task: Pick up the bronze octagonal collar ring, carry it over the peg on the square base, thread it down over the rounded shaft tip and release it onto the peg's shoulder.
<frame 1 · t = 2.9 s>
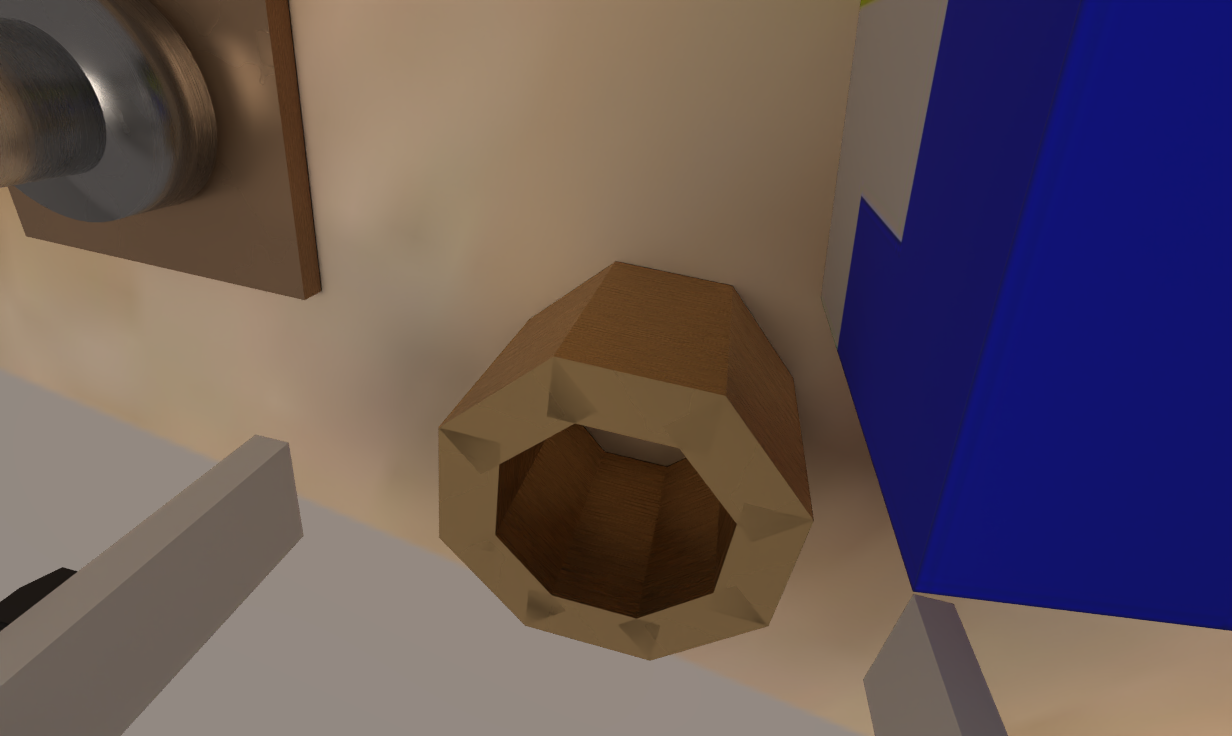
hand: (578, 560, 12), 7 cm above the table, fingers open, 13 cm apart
peg on square base: (143, 94, 17), on the table
puzzle toy: (1090, 84, 12), on the table
ring: (648, 394, 18), on the table
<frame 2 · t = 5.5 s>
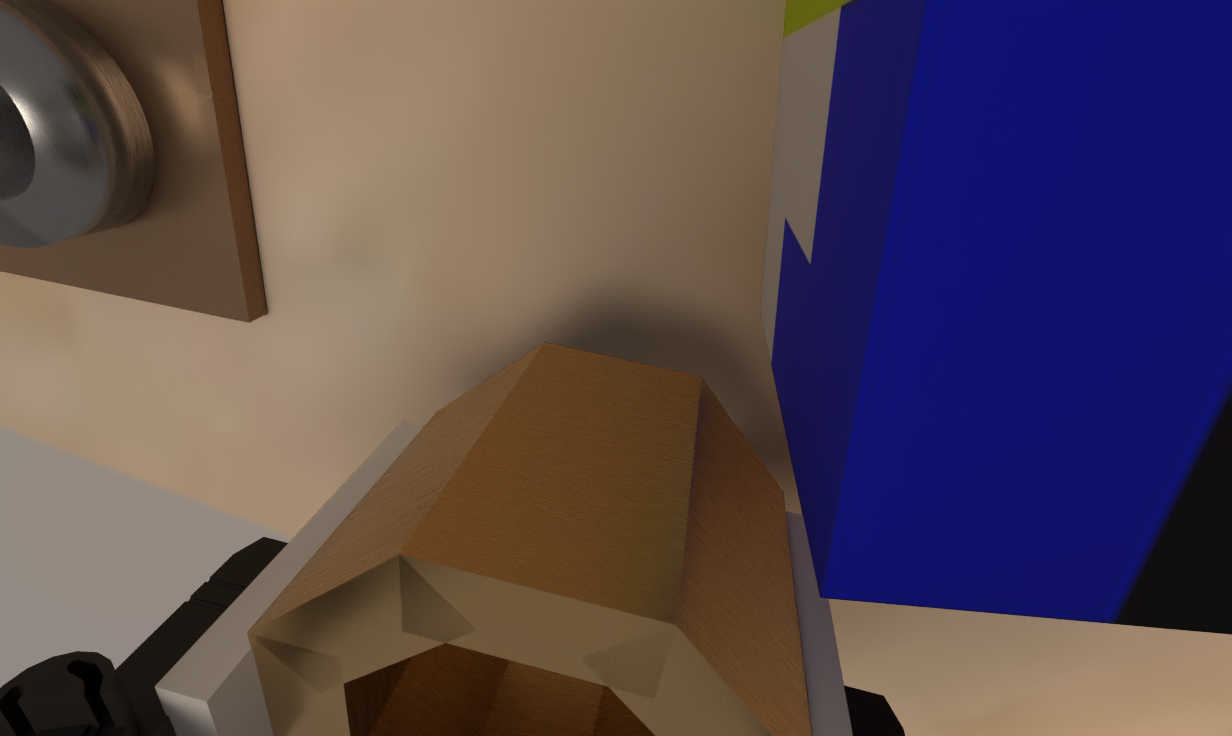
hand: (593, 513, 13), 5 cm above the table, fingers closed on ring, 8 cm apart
peg on square base: (77, 117, 16), on the table
puzzle toy: (997, 110, 13), on the table
ring: (596, 505, 14), point 5 cm above the table, touching gripper
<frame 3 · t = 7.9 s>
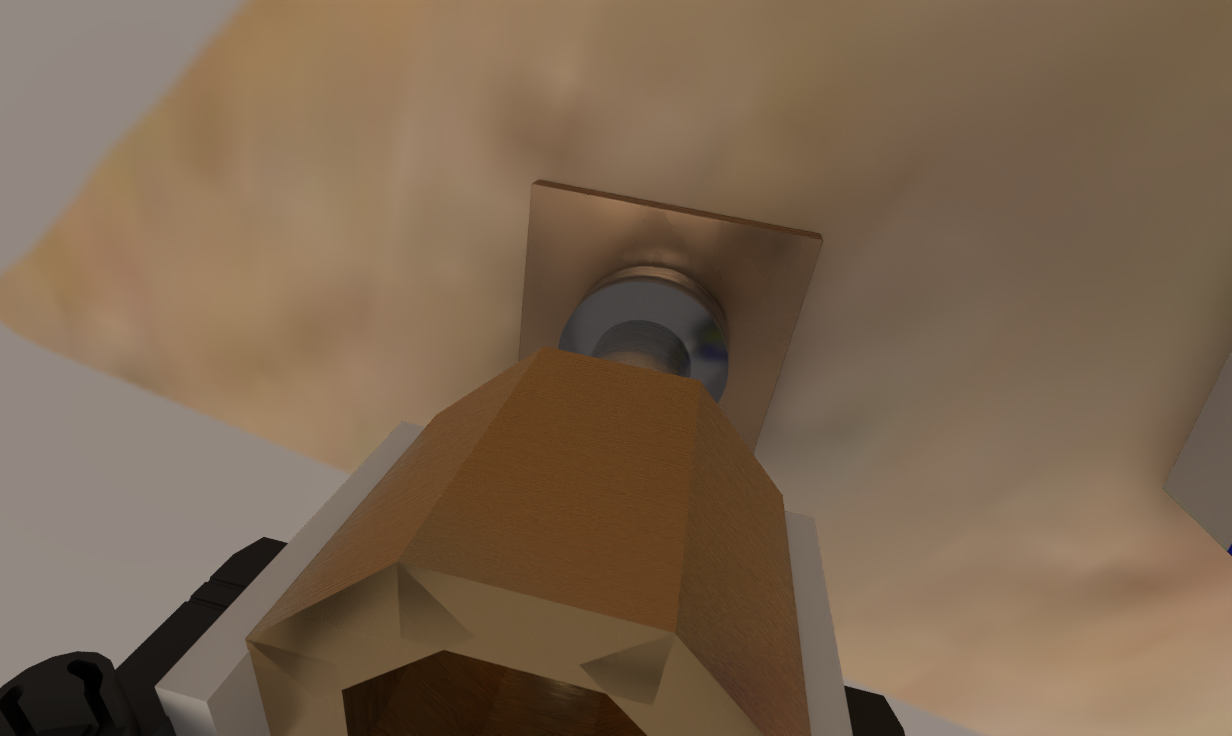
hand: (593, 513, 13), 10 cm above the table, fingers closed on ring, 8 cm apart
peg on square base: (651, 334, 23), on the table
ring: (595, 508, 14), point 10 cm above the table, touching gripper
when the fingers open (3 cm above the table, at t = 10.2 s): ring stays where it is, resting on peg on square base.
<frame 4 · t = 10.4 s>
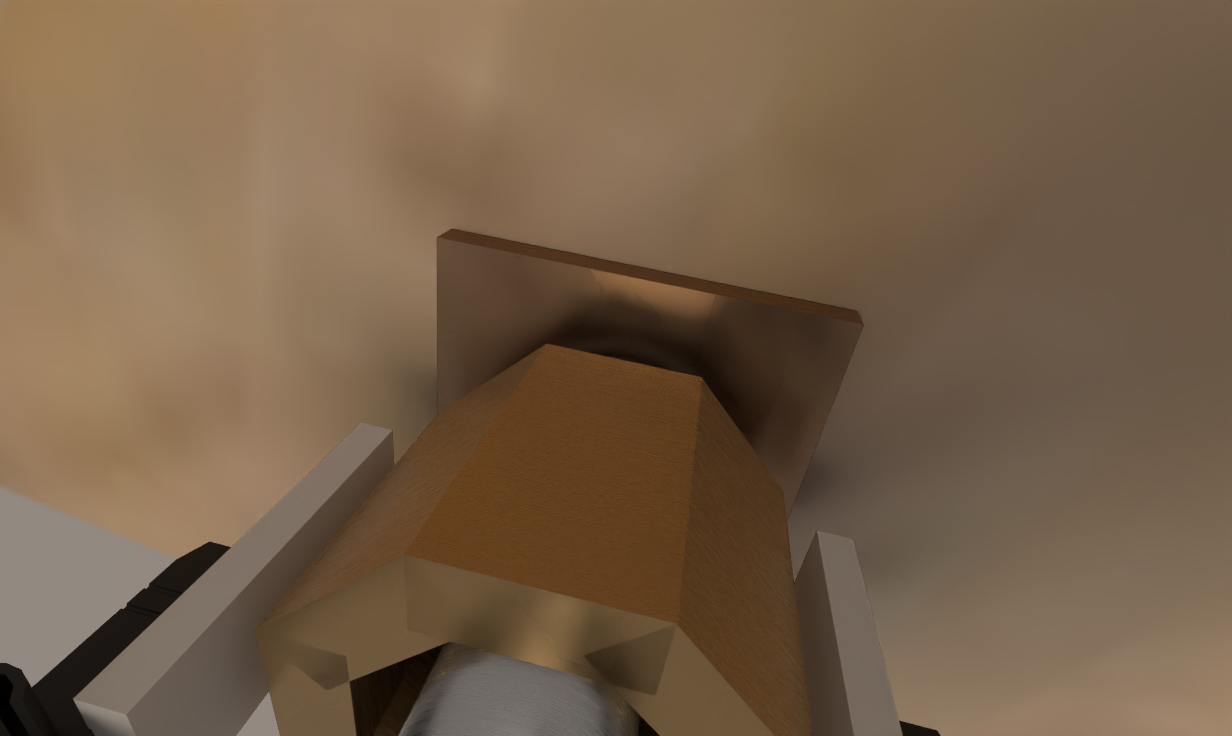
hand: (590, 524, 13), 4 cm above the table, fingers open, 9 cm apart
peg on square base: (617, 436, 16), on the table
ring: (597, 504, 14), point 3 cm above the table, touching peg on square base
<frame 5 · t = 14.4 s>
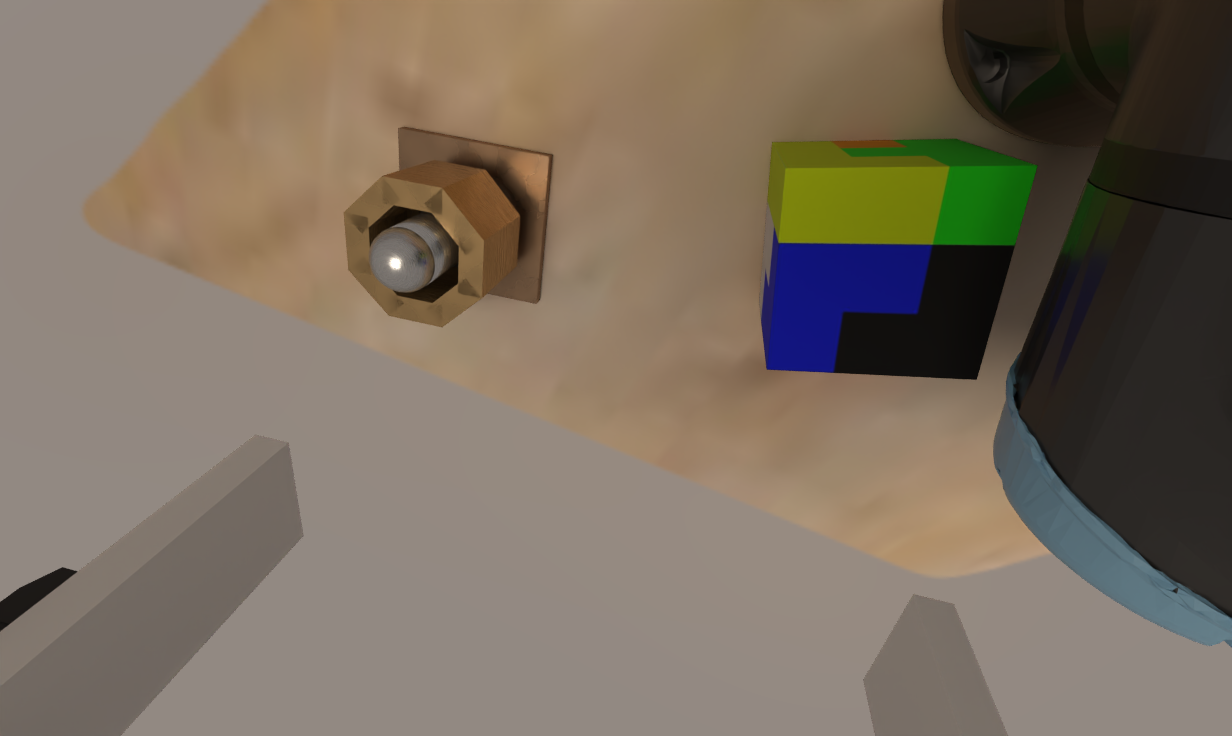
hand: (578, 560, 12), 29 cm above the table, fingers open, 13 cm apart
peg on square base: (475, 217, 39), on the table
puzzle toy: (847, 226, 36), on the table
ring: (458, 229, 37), point 3 cm above the table, touching peg on square base
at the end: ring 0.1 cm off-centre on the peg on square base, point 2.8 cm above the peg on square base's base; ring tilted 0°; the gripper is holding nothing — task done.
